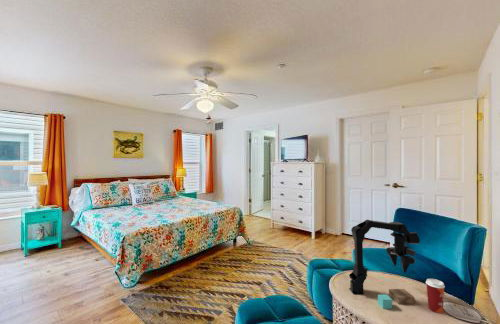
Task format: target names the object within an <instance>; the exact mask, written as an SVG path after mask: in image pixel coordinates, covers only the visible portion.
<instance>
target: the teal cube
mask: <svg viewBox="0 0 500 324" xmlns="http://www.w3.org/2000/svg"><path fill="white" fill-rule="evenodd" d="M377 304H378V305H379V306H380V307H381V308H382V310H387V309H393V298H391V297H390V296H389V294H377Z"/></svg>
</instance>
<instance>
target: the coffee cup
mask: <svg viewBox="0 0 500 324" xmlns="http://www.w3.org/2000/svg"><path fill="white" fill-rule="evenodd" d="M425 284H426V292H427V302H428V304H427V305H428V309H429V311H431V312H434V313H436V314H443V312H444V302H445V301H444V297H445V296H444V295H445V288H446V286H445V284H444V282H443V281H441V280H438V279H435V278H427V279H426V281H425Z"/></svg>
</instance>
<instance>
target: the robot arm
mask: <svg viewBox="0 0 500 324" xmlns="http://www.w3.org/2000/svg"><path fill="white" fill-rule="evenodd" d="M372 228H375V229H381V230H390V231H393V232H392V233H390V236H392V237H393V238H394V240H393V242H394V243H392V246H393V247H387V248H386V249H385V250H386V252H387V255H388V256H389V258H390V260H391V262H392V264H393V266H394V267H396V266H397V263H398V261H397V260H398V257H400V264H401V268H402V271H403V273H407V271H408V269H409V267H410V265H413V264H416V259H415V258H414V257H415V254H416V251H415V250H413V249H411V248H409V246H408V245H410V244H411V245H419V244H420V241H421V239H420V238H419V237H420V236H419V235H418V233H417V232H414V231H413V232H410V231H409V229H408V227H407V225H406V224H404V223H401V222H398V221H390V222H387V221H386V222H384V221H378V220H370V219H365V220H364V221H362V222H360V223H358V224H357V225H354V226H352V228H351V230H350V231H351V235H352V238H353V241H354V243H353V244H354V265H353V268H352V272H350V273H349V274H348V276H349V277H348V278H349V279H350V280H349V281H350V282H349V284H350V285H349V286H350V287H349V288H348V289H349V291H350V292H351V293H352V294H353V295H364V294H365V292H364V283H365V281H366V280H367V277H368V269H367V268H366V267H365V266H364V252H363V251H364V250H363V249H364V247H363V242H364V240H365V238H366V237H365V236H366V234H367V233H369V231H370V230H371V229H372ZM406 244H408V245H406Z"/></svg>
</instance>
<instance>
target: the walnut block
mask: <svg viewBox="0 0 500 324" xmlns="http://www.w3.org/2000/svg"><path fill="white" fill-rule="evenodd" d="M388 296H389V297H390V298H391V299H392V300H394V301H395V303H396V304H398V305H411V304H412V305H415V296H414V295H412V294H411V293H409V291H407V289H405V288H389V289H388Z"/></svg>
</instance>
